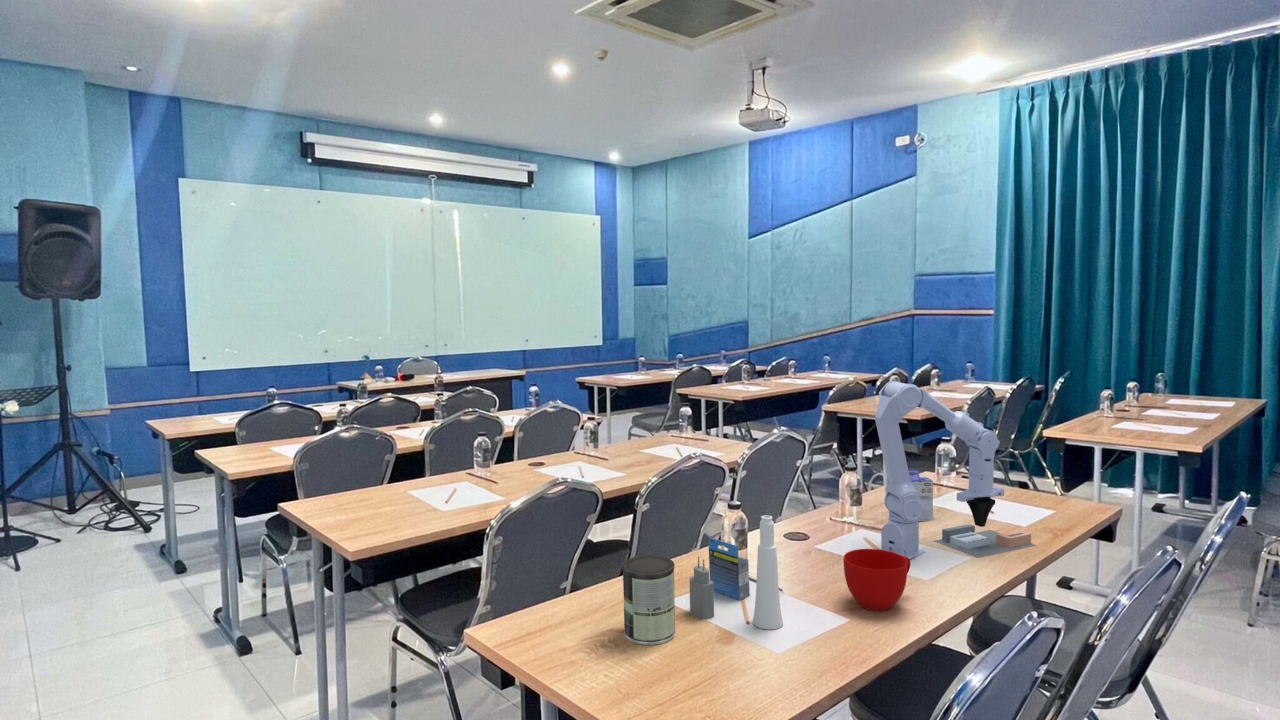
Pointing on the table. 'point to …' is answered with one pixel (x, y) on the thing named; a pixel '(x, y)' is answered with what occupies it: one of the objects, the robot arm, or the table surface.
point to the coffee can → (649, 599)
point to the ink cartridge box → (923, 494)
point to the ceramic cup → (876, 577)
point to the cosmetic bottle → (767, 580)
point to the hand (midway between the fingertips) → (979, 525)
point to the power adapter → (701, 593)
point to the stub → (1013, 539)
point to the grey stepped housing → (964, 537)
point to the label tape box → (728, 570)
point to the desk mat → (986, 549)
